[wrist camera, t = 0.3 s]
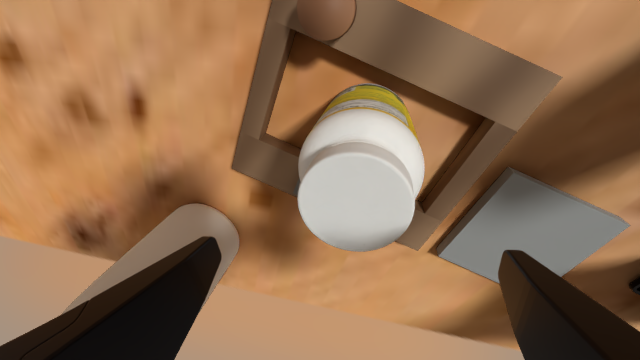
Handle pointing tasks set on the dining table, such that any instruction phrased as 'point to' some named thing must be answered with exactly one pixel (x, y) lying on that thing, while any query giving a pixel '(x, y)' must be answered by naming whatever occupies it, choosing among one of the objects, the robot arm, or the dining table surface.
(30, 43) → the dining table surface
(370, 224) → the pill bottle
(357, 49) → the wooden frame
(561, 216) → the grey pad
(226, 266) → the milk bottle
